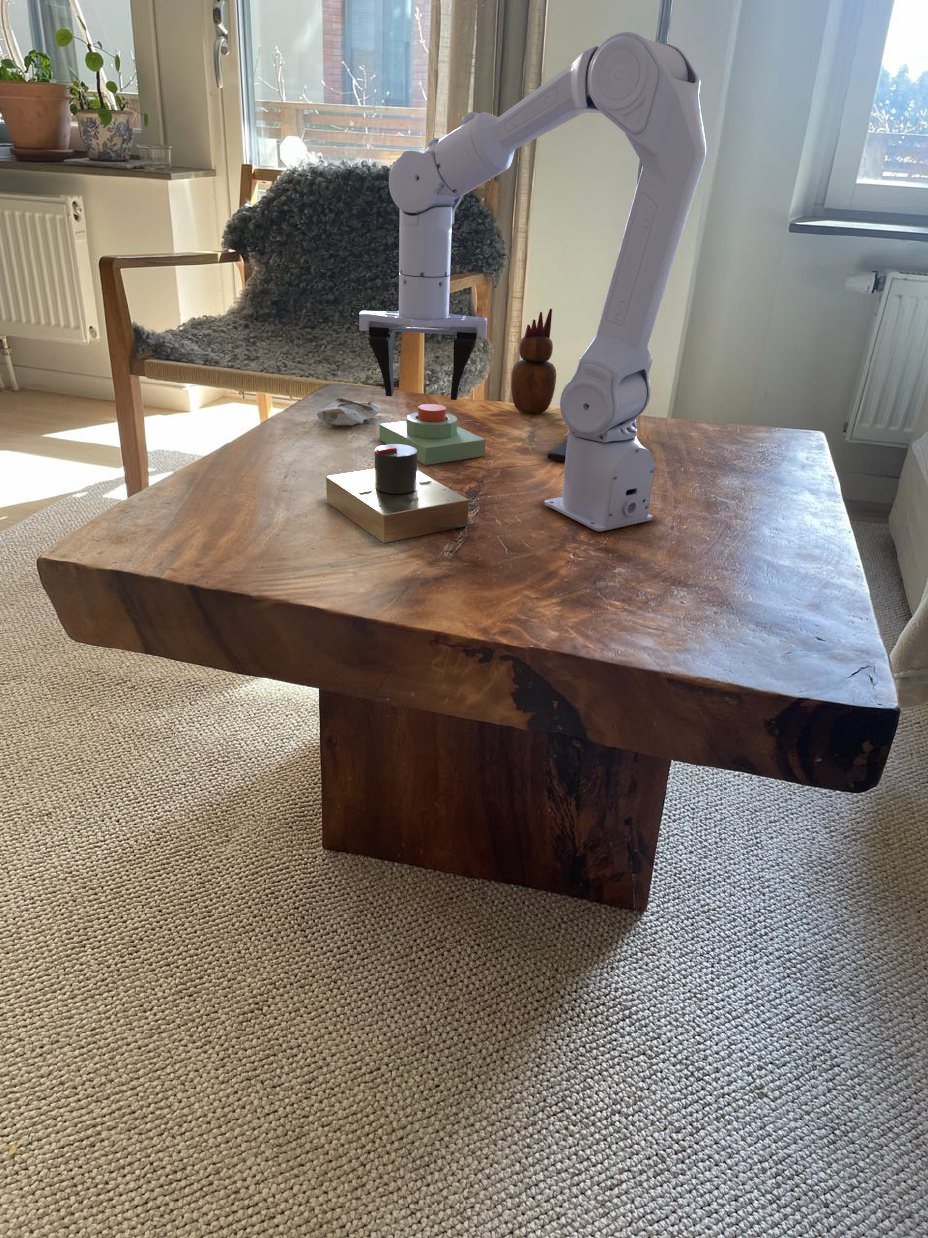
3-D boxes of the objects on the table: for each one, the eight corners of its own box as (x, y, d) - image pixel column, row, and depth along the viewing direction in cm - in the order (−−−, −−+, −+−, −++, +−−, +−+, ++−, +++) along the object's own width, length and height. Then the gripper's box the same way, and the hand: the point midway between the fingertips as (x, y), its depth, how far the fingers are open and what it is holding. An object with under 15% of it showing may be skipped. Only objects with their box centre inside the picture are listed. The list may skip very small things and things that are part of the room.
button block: (484, 455, 115) (486, 425, 113) (425, 465, 110) (426, 433, 108) (436, 432, 123) (437, 403, 122) (379, 439, 119) (379, 410, 117)
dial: (403, 477, 96) (404, 439, 94) (424, 490, 93) (425, 450, 91) (367, 483, 94) (367, 444, 92) (387, 496, 91) (387, 455, 89)
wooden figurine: (553, 407, 138) (562, 307, 132) (552, 417, 133) (562, 312, 126) (510, 404, 139) (516, 304, 132) (507, 414, 134) (514, 309, 127)
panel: (467, 526, 93) (469, 497, 91) (383, 543, 88) (383, 513, 86) (405, 488, 102) (406, 462, 101) (326, 502, 97) (325, 474, 96)
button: (451, 422, 115) (451, 409, 114) (427, 425, 113) (427, 411, 112) (436, 415, 117) (436, 402, 117) (412, 418, 116) (413, 405, 115)
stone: (341, 410, 132) (340, 392, 130) (386, 416, 129) (386, 398, 128) (310, 426, 123) (309, 407, 122) (358, 432, 121) (357, 413, 120)
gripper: (354, 274, 96) (355, 400, 102) (488, 282, 95) (481, 408, 102) (364, 267, 102) (365, 386, 108) (490, 274, 102) (483, 393, 108)
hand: (421, 396), depth 105 cm, fingers open, 7 cm apart
